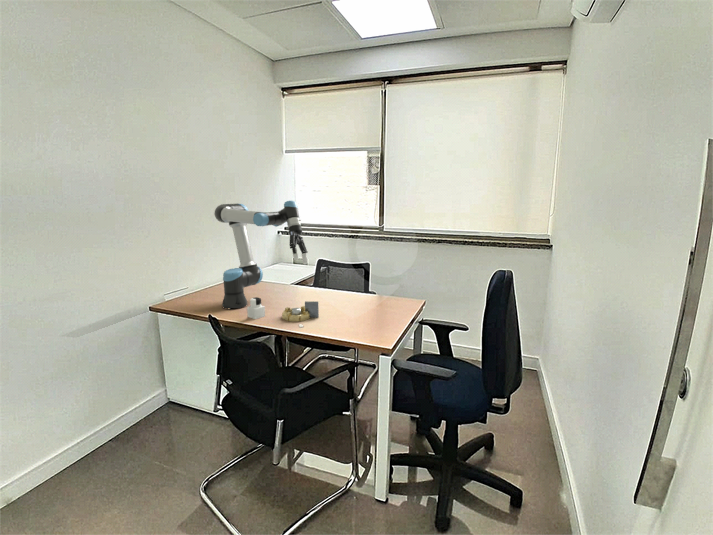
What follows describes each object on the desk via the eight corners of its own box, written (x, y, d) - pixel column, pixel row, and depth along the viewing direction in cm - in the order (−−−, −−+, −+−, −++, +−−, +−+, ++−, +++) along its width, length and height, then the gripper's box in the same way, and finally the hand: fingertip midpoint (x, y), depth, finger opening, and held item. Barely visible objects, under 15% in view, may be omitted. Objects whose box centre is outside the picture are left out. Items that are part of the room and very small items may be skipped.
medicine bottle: (257, 315, 219) (256, 295, 217) (265, 318, 215) (264, 298, 212) (247, 318, 214) (246, 298, 211) (255, 321, 209) (253, 300, 207)
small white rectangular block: (298, 327, 200) (298, 324, 200) (302, 326, 201) (302, 324, 200) (299, 329, 196) (299, 326, 196) (303, 329, 197) (303, 326, 197)
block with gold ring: (280, 321, 205) (279, 305, 203) (285, 312, 220) (285, 298, 218) (317, 321, 205) (316, 305, 203) (319, 312, 220) (319, 298, 218)
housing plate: (273, 323, 205) (272, 313, 204) (286, 312, 224) (285, 303, 223) (308, 326, 201) (307, 315, 200) (318, 314, 221) (318, 304, 220)
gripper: (291, 218, 202) (298, 255, 197) (308, 230, 226) (315, 264, 221) (279, 222, 204) (285, 259, 199) (297, 234, 227) (303, 267, 223)
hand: (301, 261), depth 210 cm, fingers open, 13 cm apart
